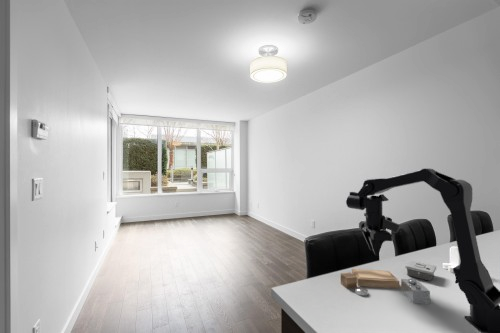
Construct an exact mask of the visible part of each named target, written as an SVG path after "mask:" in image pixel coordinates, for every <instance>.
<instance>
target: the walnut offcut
mask: <svg viewBox="0 0 500 333" xmlns="http://www.w3.org/2000/svg"><path fill="white" fill-rule="evenodd" d="M340 285H341V286H343V287H344V288H345V289H347V290H348V289H355V288H356V287H358V284H357V277H356V276H354V275H353V274H352V272H341V273H340Z"/></svg>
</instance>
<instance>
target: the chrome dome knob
mask: <svg viewBox="0 0 500 333" xmlns="http://www.w3.org/2000/svg"><path fill="white" fill-rule="evenodd" d="M368 292H369V291H368V289H367V288H365V287H364V286H357V287H356V288H354V293H355V294H356V295H358V296H361V297H366V296H368Z"/></svg>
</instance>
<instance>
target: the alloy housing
mask: <svg viewBox="0 0 500 333" xmlns="http://www.w3.org/2000/svg"><path fill="white" fill-rule="evenodd" d="M400 280H401V281H400V283H401V288H400V289H401V292H402V293H403V294H404V296H406V297H407V299H408V300H410V302H411V303H413V304H424V305H425V304H426V305H430V304H431V290H429V289H428V288H427V287H426V286H424V285H423V284H422V283H421V282H420V281H419V280H418V279H414V278H401V279H400Z"/></svg>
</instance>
